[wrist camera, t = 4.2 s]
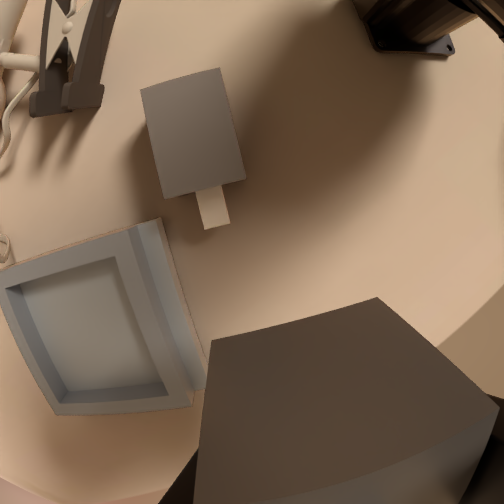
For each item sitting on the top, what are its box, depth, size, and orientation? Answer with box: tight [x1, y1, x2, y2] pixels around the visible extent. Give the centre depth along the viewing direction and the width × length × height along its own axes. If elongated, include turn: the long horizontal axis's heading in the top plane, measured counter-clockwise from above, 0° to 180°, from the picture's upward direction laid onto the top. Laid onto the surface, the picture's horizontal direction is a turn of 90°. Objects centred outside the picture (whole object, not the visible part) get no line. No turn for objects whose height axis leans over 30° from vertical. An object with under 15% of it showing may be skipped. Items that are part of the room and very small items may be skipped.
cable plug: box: [140, 68, 247, 230], centre depth 14 cm, size 4×7×4 cm, turn 13°
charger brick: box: [193, 297, 500, 504], centre depth 6 cm, size 4×4×6 cm
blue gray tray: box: [0, 217, 208, 415], centre depth 16 cm, size 12×10×3 cm
